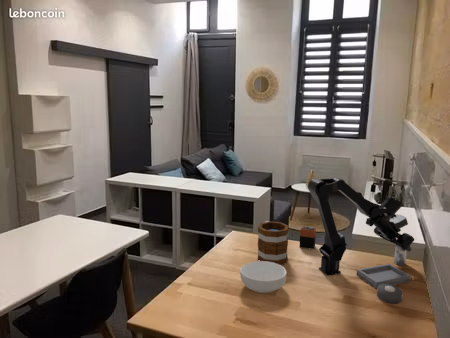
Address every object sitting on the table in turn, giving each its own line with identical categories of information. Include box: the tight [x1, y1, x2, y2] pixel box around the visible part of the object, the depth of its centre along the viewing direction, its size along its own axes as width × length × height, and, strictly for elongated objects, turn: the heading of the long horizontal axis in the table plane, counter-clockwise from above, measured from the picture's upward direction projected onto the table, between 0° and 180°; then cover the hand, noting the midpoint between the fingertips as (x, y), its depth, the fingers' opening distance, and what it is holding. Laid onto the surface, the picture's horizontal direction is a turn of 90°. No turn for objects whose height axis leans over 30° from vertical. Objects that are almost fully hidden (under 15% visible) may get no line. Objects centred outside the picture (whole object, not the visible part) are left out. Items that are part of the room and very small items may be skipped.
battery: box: [299, 225, 317, 250], centre depth 174 cm, size 4×7×10 cm, turn 70°
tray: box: [356, 263, 412, 289], centre depth 144 cm, size 16×11×2 cm
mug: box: [257, 220, 289, 266], centre depth 163 cm, size 20×14×15 cm
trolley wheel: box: [376, 284, 403, 304], centre depth 130 cm, size 8×8×4 cm
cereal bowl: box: [239, 260, 288, 294], centre depth 136 cm, size 17×17×7 cm
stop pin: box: [393, 244, 408, 266], centre depth 156 cm, size 4×4×10 cm
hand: (403, 247), depth 156 cm, fingers open, 7 cm apart
